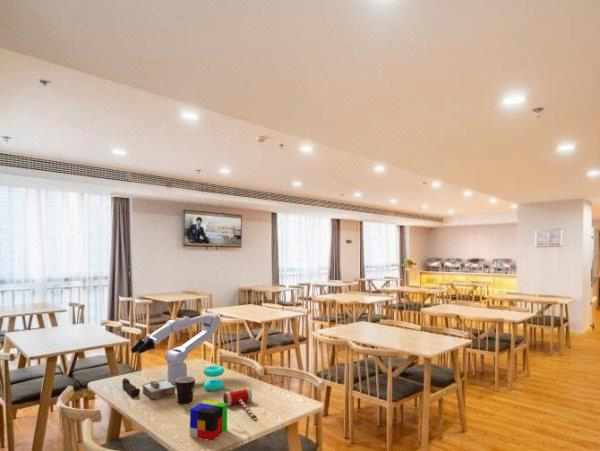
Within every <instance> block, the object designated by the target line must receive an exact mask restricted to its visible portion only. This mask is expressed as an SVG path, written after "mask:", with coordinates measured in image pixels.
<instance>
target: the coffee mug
mask: <svg viewBox="0 0 600 451" xmlns="http://www.w3.org/2000/svg"><path fill="white" fill-rule="evenodd" d="M195 382H196V378H195V376H191V375H189V376H188V375H187V376H186V377H180V378H178V379H176V383H175V386H176V388H175V389H176V396H177V398H176V399H177V404H179V405H188V404H191V403H193V401H194V400H193V398H194V391H195V385H196V384H195Z"/></svg>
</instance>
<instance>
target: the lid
mask: <svg viewBox="0 0 600 451" xmlns="http://www.w3.org/2000/svg"><path fill="white" fill-rule="evenodd" d="M164 380H165V381H160V380H159V381H160V382H156V380H150V383H151V384H147V383H145V384H146V385H143V384H142V388H143V387H145V388H146V389H147V390H149V391H150V392H151V393H152V391H157V390H161V389H165V388H170V387H174V386H175V385H174V384H170V383H169V382H167V381H166V379H164Z"/></svg>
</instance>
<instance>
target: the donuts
mask: <svg viewBox="0 0 600 451" xmlns="http://www.w3.org/2000/svg"><path fill="white" fill-rule="evenodd" d="M224 373H225V368H224V367H223V366H221V365H209V366H207V367H205V368H204V370H203V375H205V376H206V377H209V378H213V379H208V380H207V381H205V382H204V384H203V389H205V390H206V391H208V392H209V391H210V392H216V391H220V390H222V389H223V388H224V386H225V383H224V381H223V380H221V379H218V378H217V377H220V376H221V375H223V374H224Z"/></svg>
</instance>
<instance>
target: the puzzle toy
mask: <svg viewBox="0 0 600 451" xmlns="http://www.w3.org/2000/svg"><path fill="white" fill-rule="evenodd" d="M189 418H190V419H189V437H191V438H195V437H196V438H195V439H200V438H202V439H201V440H204V439H208V440H207V441H209V440H213V441H215V440H216V439H217V438H219V435H220V434H221V433H222V432H223V433H225V432H226V431H227V430H228V407H227V403H224V402H222V401H221V402H219V401H214V400H208V399H205V400H203V401H201V402H200V403H198V404H197V405H195V406H194V407H192V408H190V411H189ZM226 429H227V430H226ZM225 430H226V431H225ZM224 431H225V432H224ZM223 433H222V434H223ZM222 434H221V435H222ZM221 435H220V436H221ZM216 437H217V438H216ZM215 438H216V439H215ZM214 439H215V440H214Z"/></svg>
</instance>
